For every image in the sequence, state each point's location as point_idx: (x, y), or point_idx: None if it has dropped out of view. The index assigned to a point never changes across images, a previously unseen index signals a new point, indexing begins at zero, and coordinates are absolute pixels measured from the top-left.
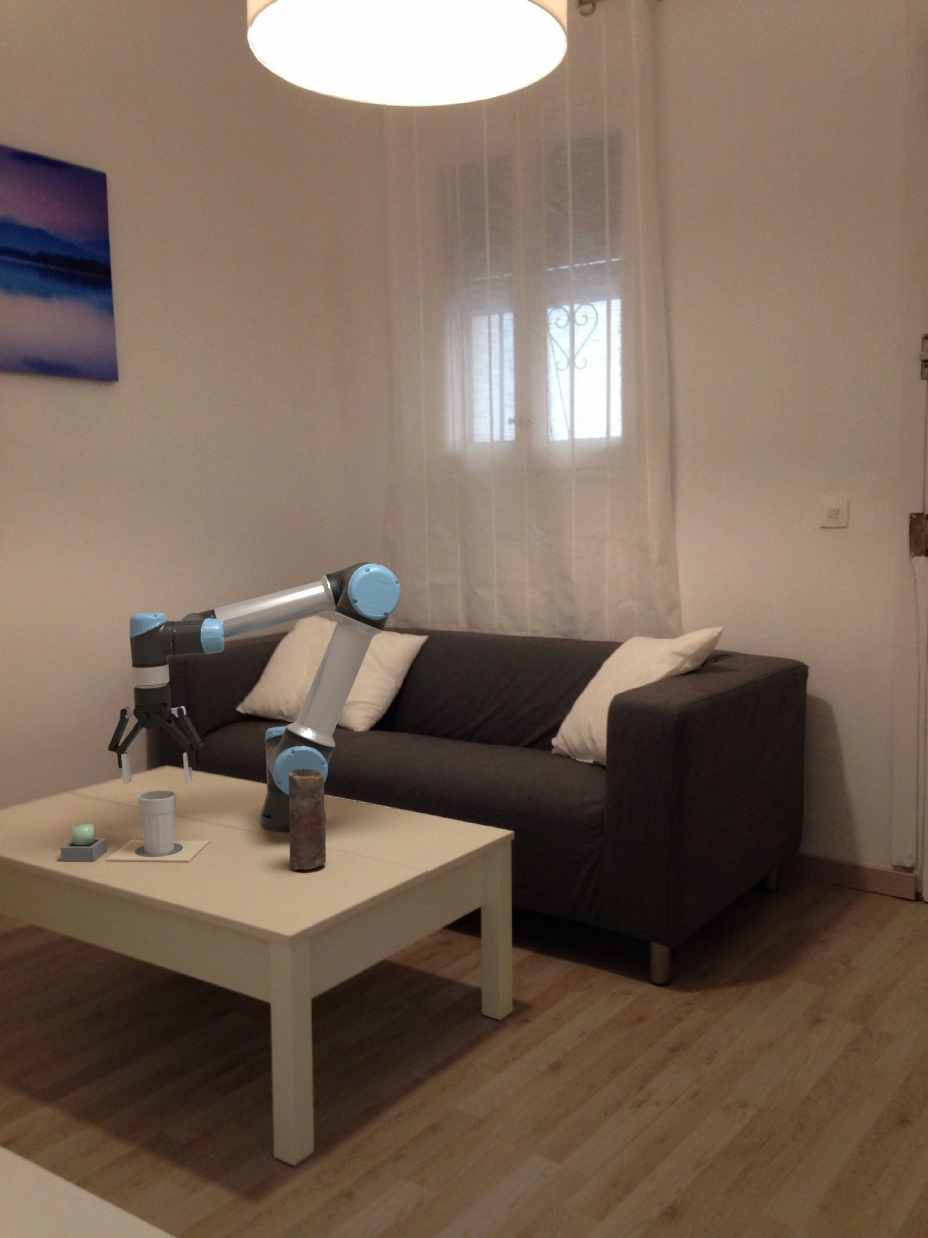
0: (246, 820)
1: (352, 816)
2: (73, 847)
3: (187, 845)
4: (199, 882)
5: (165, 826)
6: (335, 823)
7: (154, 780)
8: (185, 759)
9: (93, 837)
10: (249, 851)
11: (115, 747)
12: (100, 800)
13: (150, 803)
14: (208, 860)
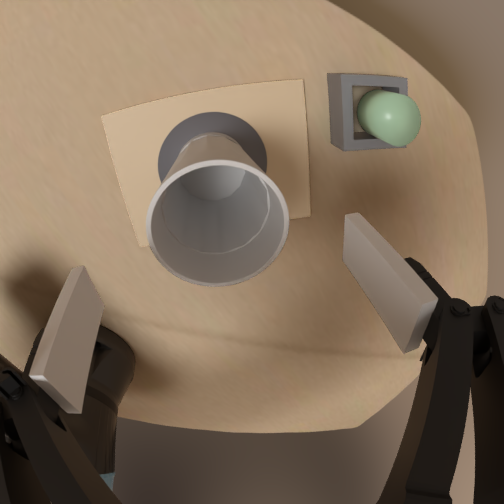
0: (163, 353)
1: None
2: (384, 78)
3: None
4: (27, 27)
5: (173, 165)
6: None
7: (363, 408)
8: (42, 349)
9: (362, 115)
10: (40, 218)
11: (482, 327)
12: (408, 353)
13: (205, 158)
14: (72, 143)
